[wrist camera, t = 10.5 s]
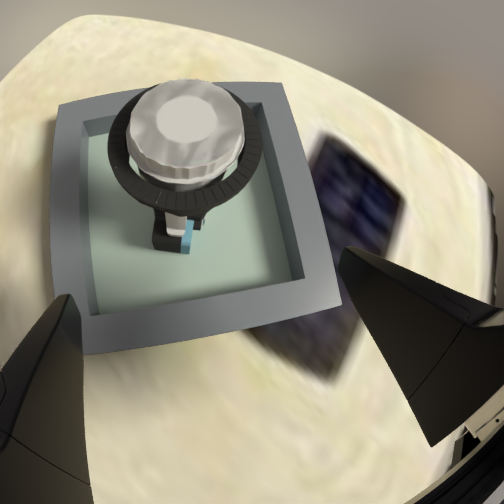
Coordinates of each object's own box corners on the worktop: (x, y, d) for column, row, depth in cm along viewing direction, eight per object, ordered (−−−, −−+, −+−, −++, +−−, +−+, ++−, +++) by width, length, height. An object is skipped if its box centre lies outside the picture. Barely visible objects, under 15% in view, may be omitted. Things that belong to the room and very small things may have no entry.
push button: (151, 153, 18) (141, 36, 9) (230, 165, 19) (275, 55, 10) (130, 253, 17) (80, 186, 7) (218, 264, 18) (265, 211, 8)
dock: (319, 306, 20) (341, 304, 17) (81, 350, 16) (65, 357, 13) (270, 105, 22) (281, 82, 19) (69, 127, 18) (58, 105, 15)
